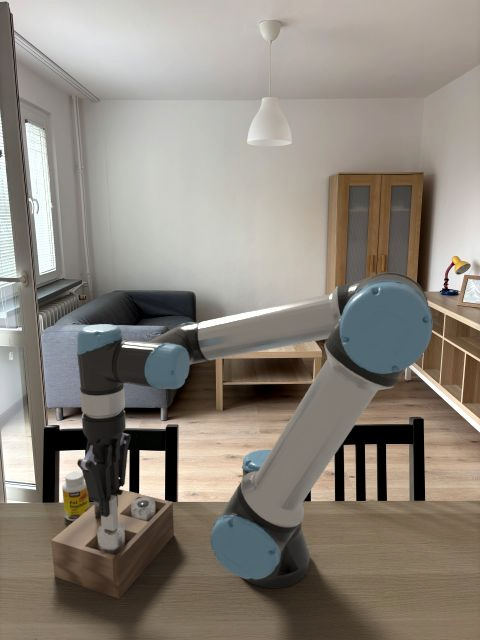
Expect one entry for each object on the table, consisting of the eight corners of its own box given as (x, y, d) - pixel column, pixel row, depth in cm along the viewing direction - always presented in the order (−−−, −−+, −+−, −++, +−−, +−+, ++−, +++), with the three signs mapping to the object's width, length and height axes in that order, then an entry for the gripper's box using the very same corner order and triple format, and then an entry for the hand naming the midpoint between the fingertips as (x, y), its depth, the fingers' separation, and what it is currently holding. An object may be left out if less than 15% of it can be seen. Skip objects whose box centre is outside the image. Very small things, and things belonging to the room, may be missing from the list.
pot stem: (110, 513, 105) (108, 482, 103) (101, 521, 102) (99, 490, 101) (97, 509, 106) (96, 479, 105) (88, 518, 103) (85, 487, 102)
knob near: (131, 566, 99) (129, 524, 97) (116, 583, 95) (113, 539, 93) (110, 559, 101) (107, 518, 99) (94, 575, 97) (91, 533, 95)
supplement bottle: (68, 525, 114) (65, 484, 112) (61, 513, 119) (58, 473, 116) (92, 517, 117) (90, 476, 115) (85, 505, 122) (82, 466, 119)
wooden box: (173, 535, 111) (172, 502, 109) (119, 598, 92) (116, 560, 91) (116, 519, 116) (114, 487, 114) (54, 576, 98) (51, 540, 96)
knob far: (161, 538, 109) (159, 499, 108) (148, 552, 105) (146, 512, 103) (141, 532, 111) (139, 494, 109) (128, 546, 107) (126, 507, 105)
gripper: (108, 395, 98) (114, 504, 103) (61, 421, 86) (70, 542, 92) (141, 401, 95) (145, 513, 101) (97, 428, 84) (105, 553, 89)
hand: (110, 527), depth 96 cm, fingers closed
